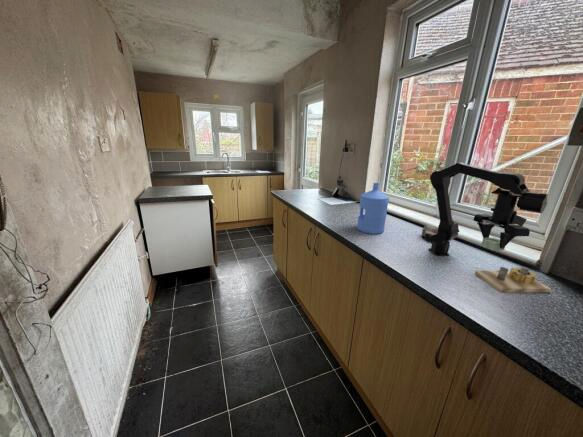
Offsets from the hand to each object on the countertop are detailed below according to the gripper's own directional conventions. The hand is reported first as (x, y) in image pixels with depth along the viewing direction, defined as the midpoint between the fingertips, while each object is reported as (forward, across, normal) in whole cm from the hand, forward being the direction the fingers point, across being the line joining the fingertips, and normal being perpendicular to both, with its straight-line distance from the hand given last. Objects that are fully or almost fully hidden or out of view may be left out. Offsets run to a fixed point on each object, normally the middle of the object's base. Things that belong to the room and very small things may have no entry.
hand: (493, 244), depth 94 cm
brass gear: (+10, -9, -6) cm, 15 cm away
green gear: (+1, 0, 0) cm, 1 cm away
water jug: (+11, +47, +32) cm, 58 cm away
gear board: (+12, -9, -2) cm, 15 cm away
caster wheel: (+12, +33, +3) cm, 35 cm away
